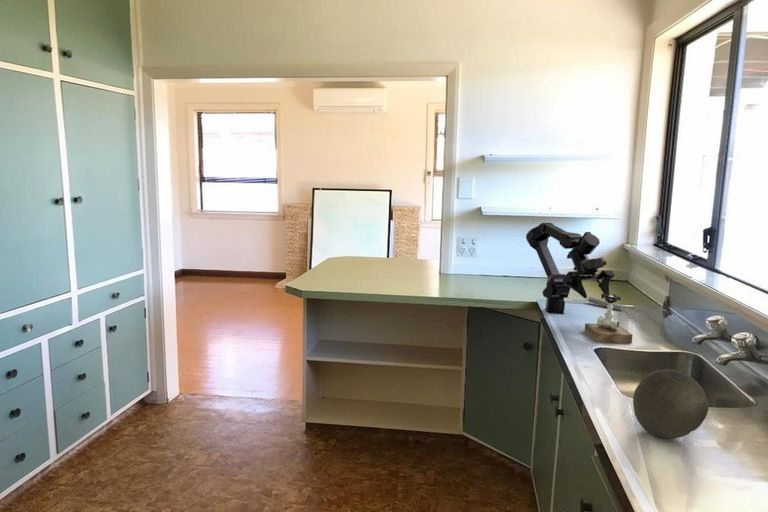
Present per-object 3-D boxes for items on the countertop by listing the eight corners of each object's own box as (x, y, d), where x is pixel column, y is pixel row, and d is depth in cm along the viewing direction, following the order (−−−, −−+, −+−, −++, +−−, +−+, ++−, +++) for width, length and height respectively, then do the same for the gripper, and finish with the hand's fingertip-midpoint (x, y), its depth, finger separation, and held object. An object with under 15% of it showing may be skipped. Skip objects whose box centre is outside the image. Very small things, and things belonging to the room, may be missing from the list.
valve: (613, 332, 183) (616, 298, 181) (594, 328, 188) (597, 295, 186) (621, 328, 188) (624, 295, 186) (602, 324, 192) (605, 292, 190)
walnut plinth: (595, 342, 182) (596, 333, 182) (584, 331, 194) (585, 323, 194) (631, 343, 182) (632, 334, 181) (618, 332, 194) (618, 324, 193)
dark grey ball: (641, 449, 113) (648, 381, 110) (623, 418, 127) (629, 358, 124) (713, 456, 111) (722, 388, 108) (687, 424, 124) (695, 363, 122)
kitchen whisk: (623, 313, 220) (625, 298, 219) (551, 297, 245) (552, 284, 244) (630, 311, 224) (632, 296, 223) (558, 296, 249) (559, 282, 248)
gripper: (569, 249, 193) (585, 286, 184) (614, 248, 198) (631, 284, 189) (555, 267, 202) (570, 302, 193) (598, 265, 206) (614, 300, 198)
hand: (597, 297), depth 193 cm, fingers open, 9 cm apart
